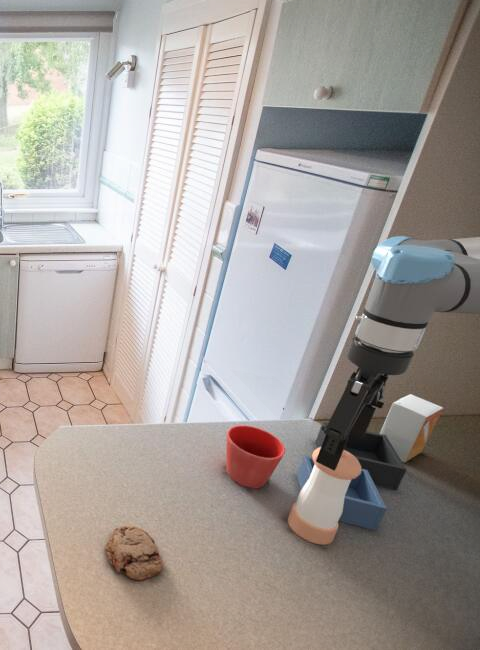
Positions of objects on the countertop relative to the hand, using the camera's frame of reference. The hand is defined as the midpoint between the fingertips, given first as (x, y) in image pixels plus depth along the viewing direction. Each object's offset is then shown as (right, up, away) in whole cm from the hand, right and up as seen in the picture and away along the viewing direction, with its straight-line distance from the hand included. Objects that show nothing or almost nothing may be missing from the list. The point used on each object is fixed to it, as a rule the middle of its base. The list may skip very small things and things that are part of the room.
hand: (340, 449), depth 80 cm
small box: (+37, -9, +28) cm, 47 cm away
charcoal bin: (+22, -11, +24) cm, 34 cm away
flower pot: (-4, -12, +21) cm, 25 cm away
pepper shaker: (0, -18, +8) cm, 20 cm away
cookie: (-36, -20, +3) cm, 42 cm away
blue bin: (+10, -15, +14) cm, 23 cm away
